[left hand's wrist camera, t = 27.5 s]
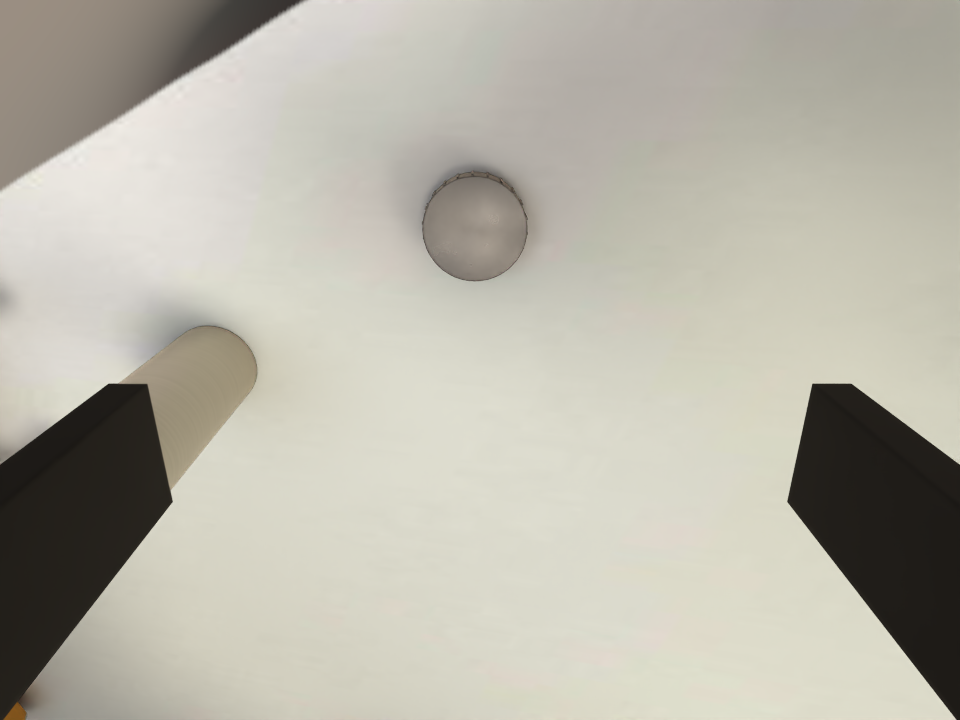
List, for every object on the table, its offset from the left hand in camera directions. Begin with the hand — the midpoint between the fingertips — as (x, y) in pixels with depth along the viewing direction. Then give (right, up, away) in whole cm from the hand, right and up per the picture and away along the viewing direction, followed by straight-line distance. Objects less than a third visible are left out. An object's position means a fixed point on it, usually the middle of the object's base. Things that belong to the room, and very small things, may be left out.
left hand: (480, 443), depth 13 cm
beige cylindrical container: (-17, +1, +27) cm, 32 cm away
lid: (0, +9, +22) cm, 24 cm away
